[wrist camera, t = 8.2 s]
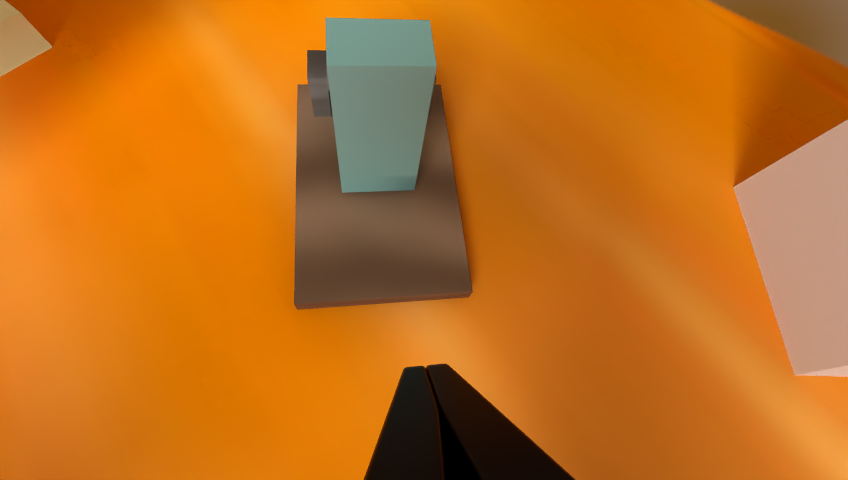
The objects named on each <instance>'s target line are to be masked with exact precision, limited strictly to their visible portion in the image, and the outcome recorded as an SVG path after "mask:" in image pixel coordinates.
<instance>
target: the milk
mask: <svg viewBox="0 0 848 480" xmlns="http://www.w3.org/2000/svg"><path fill="white" fill-rule="evenodd" d="M733 188H734V191H735V194H736V197H737V200H738V203H739V206H740V209H741V213H742V216H743V219H744V222H745V225H746V228H747V231H748V234H749V237H750V240H751V243H752V246H753V249H754V252H755V255H756V258H757V262H758V265H759V268H760V271H761V274H762V277H763V280H764V283H765V286H766V289H767V292H768V295H769V298H770V301H771V304H772V307H773V311H774V314H775V317H776V320H777V323H778V326H779V329H780V332H781V335H782V338H783V341H784V344H785V347H786V350H787V353H788V356H789V360H790V363H791V366H792V369H793V372H794V375H810V376H843V377H848V120H846V121H844V122H843V123H841V124H839V125H837V126H836V127H834V128H832V129H831V130H829V131H827V132H826V133H824V134H822V135H821V136H819V137H817V138H815V139H814V140H812V141H810V142H809V143H807V144H805V145H804V146H802V147H800V148H799V149H797V150H795V151H793V152H792V153H790V154H788V155H787V156H785V157H783V158H782V159H780V160H778V161H776V162H775V163H773V164H771V165H770V166H768V167H766V168H765V169H763V170H761V171H760V172H758V173H756V174H754V175H753V176H751V177H749V178H748V179H746V180H744V181H743V182H741V183H739V184H738V185H736V186H734V187H733Z"/></svg>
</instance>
